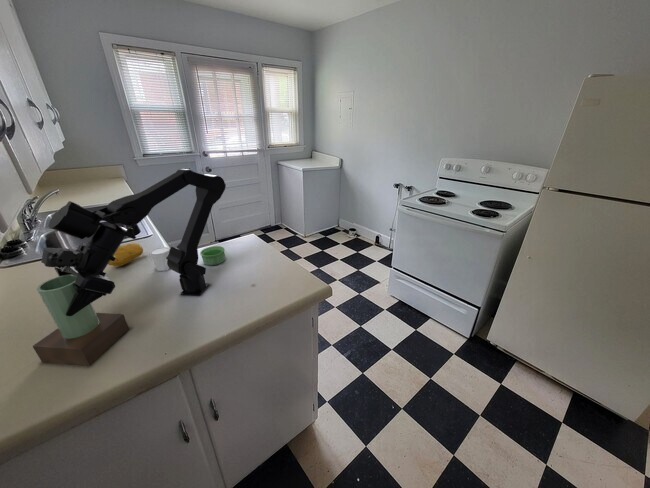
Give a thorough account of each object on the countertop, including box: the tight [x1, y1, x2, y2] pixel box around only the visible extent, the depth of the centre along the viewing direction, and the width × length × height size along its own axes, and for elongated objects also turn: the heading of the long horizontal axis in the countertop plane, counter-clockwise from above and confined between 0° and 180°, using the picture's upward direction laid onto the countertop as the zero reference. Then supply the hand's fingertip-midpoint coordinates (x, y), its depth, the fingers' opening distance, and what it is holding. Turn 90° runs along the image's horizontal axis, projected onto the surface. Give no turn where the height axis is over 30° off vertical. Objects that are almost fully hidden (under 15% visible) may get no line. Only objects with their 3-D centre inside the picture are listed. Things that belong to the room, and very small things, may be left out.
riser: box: [32, 312, 130, 366], centre depth 66 cm, size 12×12×5 cm
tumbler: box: [36, 274, 99, 339], centre depth 62 cm, size 7×7×13 cm
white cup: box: [149, 246, 171, 272], centre depth 101 cm, size 7×7×7 cm
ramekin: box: [199, 245, 226, 266], centre depth 106 cm, size 9×9×4 cm
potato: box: [107, 242, 144, 267], centre depth 105 cm, size 8×14×7 cm, turn 158°
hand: (61, 308), depth 61 cm, fingers open, 9 cm apart
